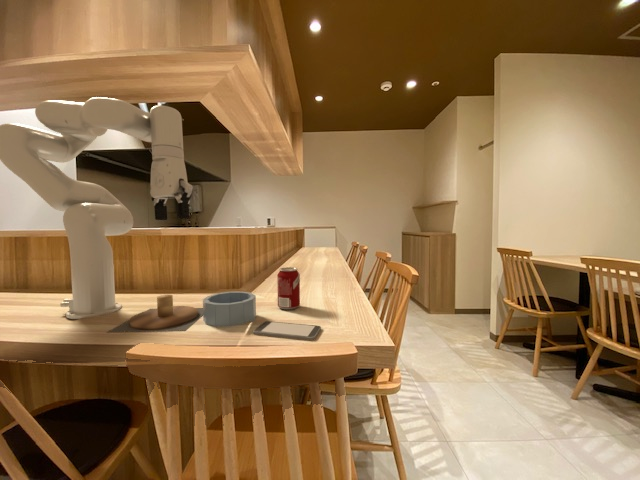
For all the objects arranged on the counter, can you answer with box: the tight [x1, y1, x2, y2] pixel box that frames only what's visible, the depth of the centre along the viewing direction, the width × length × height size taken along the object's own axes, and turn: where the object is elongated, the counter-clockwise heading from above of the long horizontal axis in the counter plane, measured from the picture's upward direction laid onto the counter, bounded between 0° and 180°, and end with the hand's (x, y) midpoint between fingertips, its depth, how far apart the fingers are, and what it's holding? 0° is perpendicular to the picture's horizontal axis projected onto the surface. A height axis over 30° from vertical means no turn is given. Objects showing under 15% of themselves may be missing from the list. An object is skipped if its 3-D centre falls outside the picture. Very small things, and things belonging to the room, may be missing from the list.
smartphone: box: [252, 320, 322, 342], centre depth 66 cm, size 7×1×15 cm
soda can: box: [276, 266, 301, 311], centre depth 85 cm, size 7×7×12 cm
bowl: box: [202, 291, 257, 328], centre depth 74 cm, size 13×13×6 cm
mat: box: [105, 307, 203, 334], centre depth 74 cm, size 18×18×1 cm
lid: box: [128, 294, 198, 330], centre depth 74 cm, size 16×16×6 cm
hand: (172, 219), depth 76 cm, fingers open, 9 cm apart
